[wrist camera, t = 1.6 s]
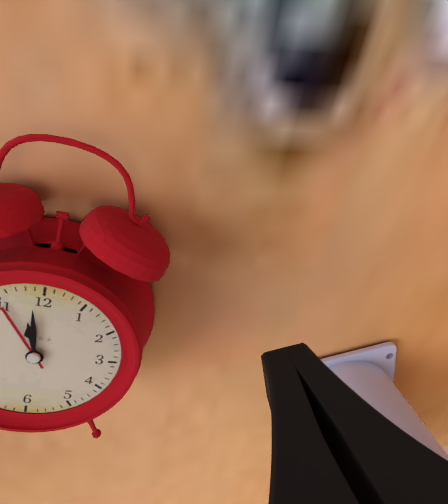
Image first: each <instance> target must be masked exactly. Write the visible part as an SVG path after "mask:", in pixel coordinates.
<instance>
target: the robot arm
mask: <svg viewBox="0 0 448 504" xmlns="http://www.w3.org/2000/svg"><path fill="white" fill-rule="evenodd" d="M396 350H397V348H396V346H395V345H394V343H393V342H385V343H381V344H377V345H373V346H370V347H366V348H362V349H358V350H354V351H350V352H346V353H342V354H338V355H334V356H330V357H327V358H323V359H319V358H318V357H317V356H316V355H315V354H314V353H313V351H312V350H311V349H310V348H309V347H308V346H307V345H306V344H304V343H300V344H296V345H292V346H288V347H284V348H280V349H276V350H272V351H268V352H264V353H263V355H262V356H261V359H262V365H263V372H264V379H265V386H266V393H267V398H268V402H269V405H270V409H271V416H272V459H271V479H270V493H269V504H448V455H447V453H446V452H445V451H444V449H443V448H442V447H441V445H440V444H439V443H438V442H437V440H436V439H435V438H434V436H433V435H432V434H431V432H430V431H429V430H428V428H427V427H426V426H425V424H424V423H423V422H422V420H421V419H420V418H419V416H418V415H417V414H416V412H415V411H414V410H413V408H412V407H411V406H410V405H409V403H408V402H407V401H406V399H405V398H404V397H403V395H402V394H401V393H400V391H399V390H398V389H397V387H396V386H395V385H394V383H393V382H394V371H395V361H396Z"/></svg>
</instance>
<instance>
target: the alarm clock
mask: <svg viewBox="0 0 448 504" xmlns="http://www.w3.org/2000/svg"><path fill="white" fill-rule="evenodd" d="M32 141H46V142H56V143H60V144H65V145H70V146H74V147H78V148H81V149H83V150H86V151H89V152H91V153H94V154H96V155H98V156H100V157H102V158H103V159H105V160H107V161H108V162H110V163H111V164H112V165H113V166H114V167H115V168H116V169H117V170H118V171H119V172H120V173H121V175H122V176H123V178H124V181H125V183H126V186H127V190H128V199H129V211H126V210H124V209H122V208H118V207H114V206H101V207H98V208H96V209H94V210H92V211H91V212H90V213H89V214H88V215H87V216H86V217H85V218H84V220H83V221H82V222H81V224H79V223H75V222H72V221H68V217H69V213H65V212H60V211H57V212H56V218H58V219H56V218H48V217H43V215H44V213H45V211H44V208H43V205H42V202H41V200H40V198H39V196H38V195H37V194H36V193H35V192H34V191H32V190H31V189H29V188H27V187H25V186H22V185H17V184H11V183H0V429H1V430H7V431H16V432H47V431H55V430H61V429H66V428H70V427H73V426H77V425H80V424H83V423H85V422H88V423H89V425H90V427H91V429H92V431H93V433H92V435H93V437H94V438H98V437H100V435H101V431H100V430H99V429H96V427H95V424H94V422H93V419H94V418H96V417H98V416H100V415H101V414H103V413H105V412H106V411H108V410H109V409H110V408H112V407H113V406H114V405H115V404H116V403H117V402H119V401H120V400H121V399H122V398H123V396H124V395H125V394H126V392H127V391H128V390H129V388H130V386H131V385H132V383H133V381H134V379H135V377H136V375H137V373H138V370H139V367H140V364H141V360H142V351H143V350H142V349H143V347H144V346H145V344H146V342H147V340H148V338H149V336H150V333H151V331H152V327H153V322H154V297H153V292H152V289H151V285H150V283H149V282H154V281H158V280H160V278H161V277H162V276H163V275H164V273H165V271H166V269H167V268H168V266H169V263H170V250H169V248H168V245H167V244H166V242H165V240H164V238H163V237H162V235H161V234H160V233H159V232H158V231H157V230H156V229H155V228H154V227H153V226H151V225H150V224H149V223H148V221H149V219H150V216H149V215H147V214H145V215H144V216H143V217H142V218H140V217H139V216H137V215H136V214H134V209H135V196H134V189H133V184H132V181H131V178H130V176H129V174H128V173H127V171H126V170H125V169H124V167H123V166H122V165H121V163H120V162H119V161H117V160H116V159H114V158H113V157H112V156H110V155H109V154H108V153H106V152H104V151H102V150H100V149H98V148H96V147H94V146H91V145H88V144H85V143H82V142H79V141H77V140H74V139H71V138H65V137H59V136H53V135H48V134H28V135H24V136H19V137H16V138H14V139H12V140H10V141H8V142H7V143H6V144H5V145H4V146H3V147H2V148H1V149H0V168H1V165H2V163H3V160H4V158H5V156H6V155H7V153H8V152H9V151H10V150H11V149H12V148H14V147H15V146H17V145H18V144H22V143H25V142H32Z"/></svg>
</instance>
